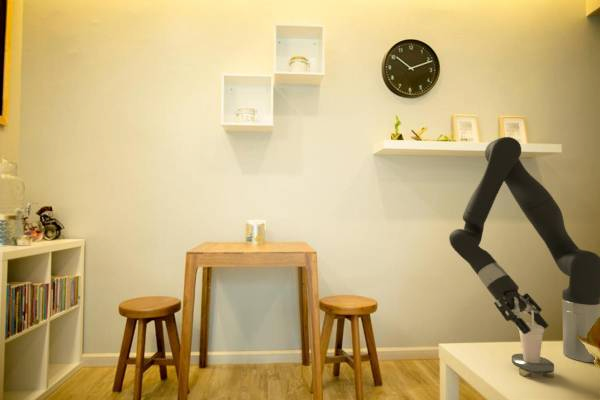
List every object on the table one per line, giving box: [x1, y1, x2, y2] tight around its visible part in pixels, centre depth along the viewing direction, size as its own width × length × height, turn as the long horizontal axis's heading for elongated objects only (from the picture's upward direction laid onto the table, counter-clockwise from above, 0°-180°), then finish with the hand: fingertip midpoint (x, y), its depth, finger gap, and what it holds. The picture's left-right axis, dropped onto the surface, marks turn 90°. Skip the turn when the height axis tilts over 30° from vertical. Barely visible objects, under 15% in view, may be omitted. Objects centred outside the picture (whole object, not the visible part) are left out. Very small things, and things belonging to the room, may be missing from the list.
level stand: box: [511, 353, 555, 379], centre depth 99 cm, size 10×10×3 cm
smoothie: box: [517, 310, 545, 363], centre depth 100 cm, size 6×6×14 cm
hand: (536, 330), depth 98 cm, fingers open, 8 cm apart
